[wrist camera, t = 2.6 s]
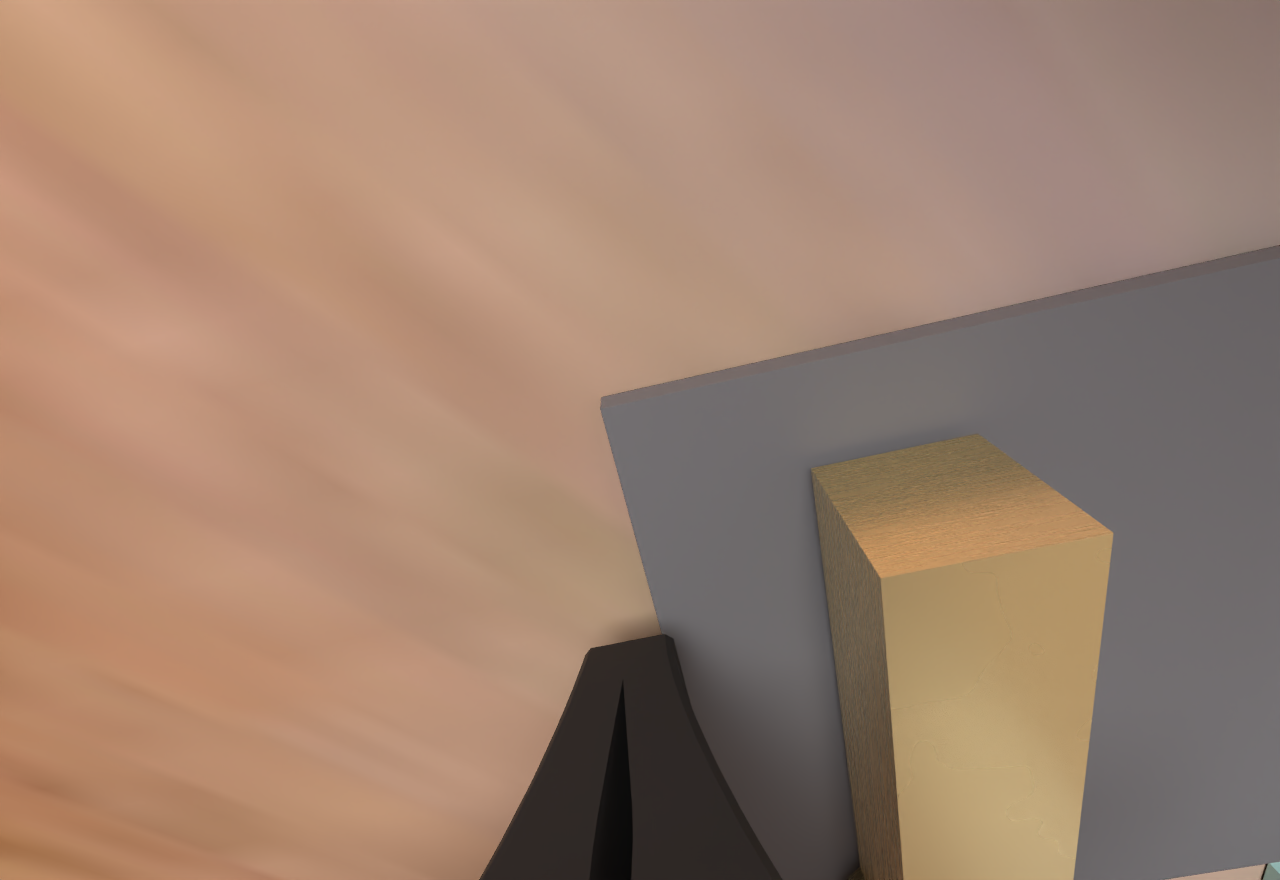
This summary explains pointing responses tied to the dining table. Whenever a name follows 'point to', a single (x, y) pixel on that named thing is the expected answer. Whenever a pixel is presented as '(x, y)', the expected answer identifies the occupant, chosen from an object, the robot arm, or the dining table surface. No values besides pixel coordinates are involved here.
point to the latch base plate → (1066, 461)
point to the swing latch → (962, 659)
